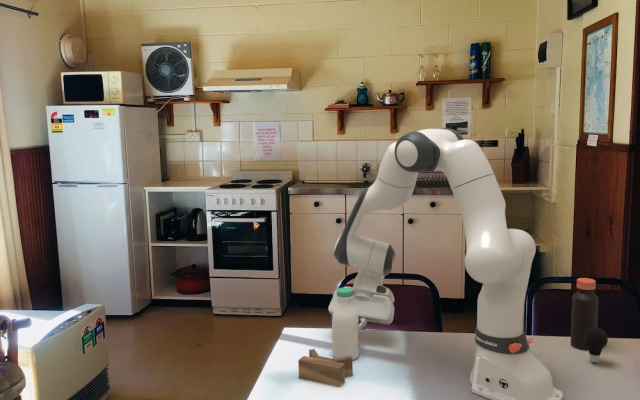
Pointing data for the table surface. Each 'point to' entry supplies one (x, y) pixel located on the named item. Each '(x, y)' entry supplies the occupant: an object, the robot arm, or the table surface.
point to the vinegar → (583, 311)
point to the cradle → (325, 368)
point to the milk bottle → (345, 326)
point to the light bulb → (595, 342)
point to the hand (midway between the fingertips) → (354, 332)
